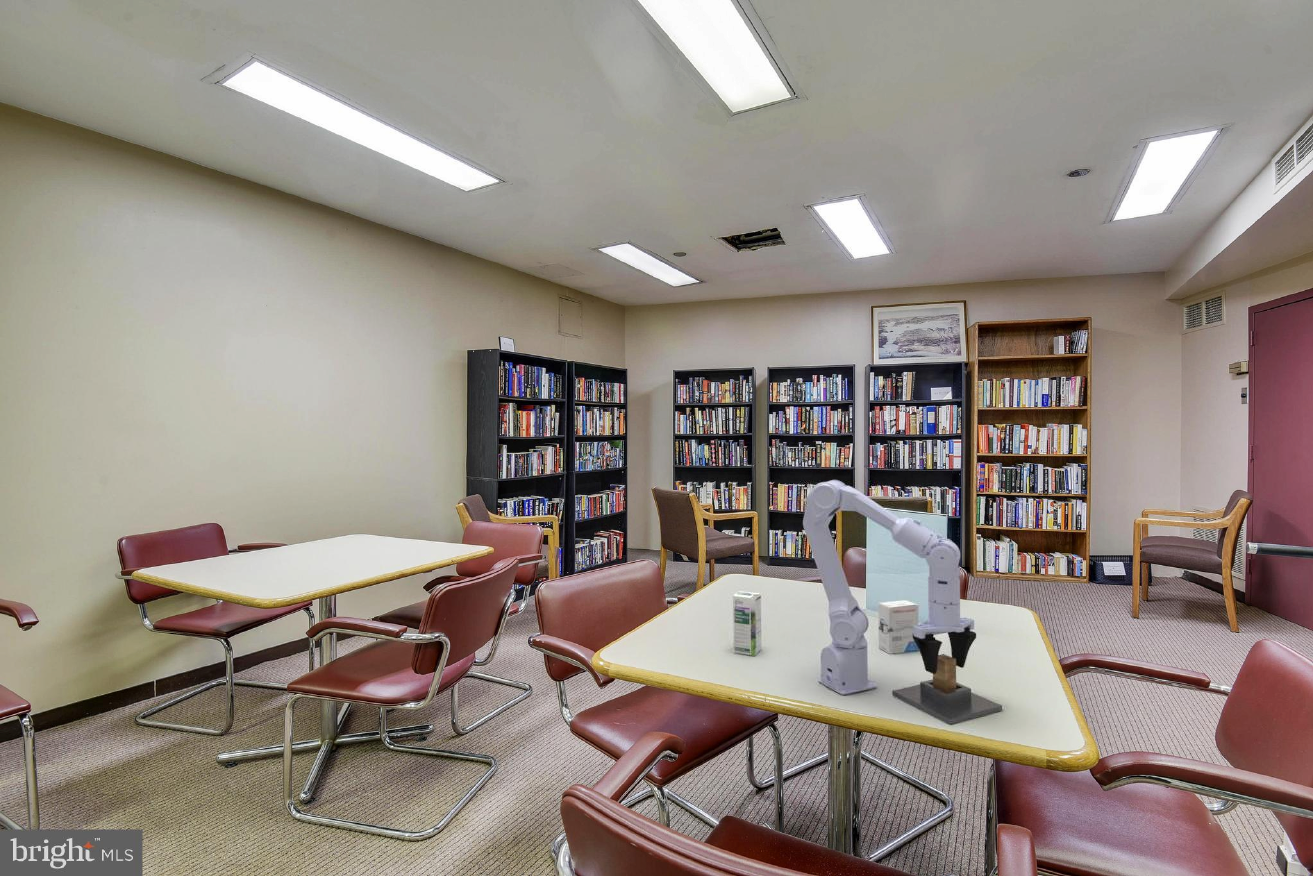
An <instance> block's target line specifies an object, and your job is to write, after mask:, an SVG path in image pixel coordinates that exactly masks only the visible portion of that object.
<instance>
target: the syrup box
mask: <svg viewBox="0 0 1313 876" xmlns="http://www.w3.org/2000/svg"><path fill="white" fill-rule="evenodd" d="M732 606H733V608H732V610H733V613H732V614H733V654H739V655H740V654H742V655H745V656H751V657H752V656H753V657H755V656H756V655H757V654H758V653H760V651H761V650H762V593H761V592H760V593H759V592H749V591H743V590H739V591H738V592H736V593H734V594H733V596H732Z"/></svg>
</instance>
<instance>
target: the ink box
mask: <svg viewBox="0 0 1313 876" xmlns="http://www.w3.org/2000/svg"><path fill="white" fill-rule="evenodd" d="M917 625H919V604H917V603H915V602H912V601H910V600H908V599H903V600H895V601H894V600H893V601H884V602H878V648H879V649H880V650H881V651H884V652H885V653H887V654H889V655H894V654H893V653H895V654H900V653H910V652H909V651H911V652H917V651H920V650H919V648H918V646H917V644H916V643H915V641H914V639H913V633H914V626H917Z"/></svg>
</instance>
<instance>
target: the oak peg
mask: <svg viewBox="0 0 1313 876" xmlns="http://www.w3.org/2000/svg"><path fill="white" fill-rule="evenodd" d="M932 679H933V686H935V687H938V688H940V689H942V690H944V691H946V692H947V691H951V690H955V689H956V682H957V666H956V659H955V658H952V656H950V655H947V654H945V653H941V654H938V664H937V672H936V674H932Z"/></svg>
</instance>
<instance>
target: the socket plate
mask: <svg viewBox="0 0 1313 876" xmlns="http://www.w3.org/2000/svg"><path fill="white" fill-rule="evenodd" d="M891 693H892V694H891V695H893V697H894V696H895V697H894V698H896V697H897V698H896V699H898V698H899V699H898V700H900V699H901V700H900V701H902V702H905V703H906V704H908V705H910V706H912V707H914V708H916V709H918V710H920V711H922V712H924V713H925V714H928V715H930V716H931V717H934V718H936V719H938V720H939V721H942V722H943V723H946V724H948V725H954V724H958V723H961V722H966V721H969V720H972V719H976V718H980V717H984V716H987V715H991V714H995V713H998V712H1001V711H1003V705H1002V704H999V703H997V702H994V701H993V700H990V699H988V698H986V697H983V696H981V695H979V694H977V693H973V692H972V688H971V687H968V686H966V685H964V684H961V683H960V682H957V681H956V689H955V690H951V691H947V692H946V691H944V690H942V689H940V688H938V687H935V686H933V678H932V679H928V680H923V681H920V684H916V685H912V686H907V687H903V688H899V689H893V690H892V692H891Z"/></svg>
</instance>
